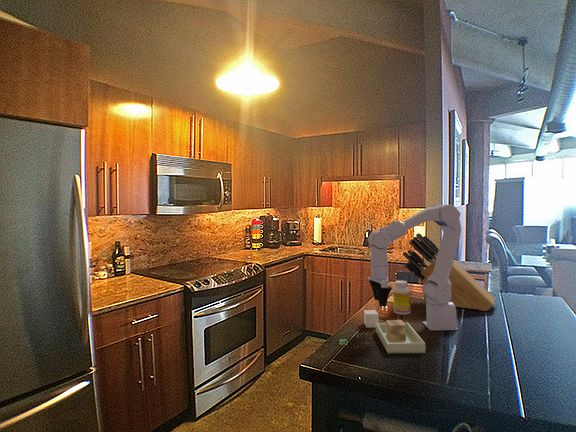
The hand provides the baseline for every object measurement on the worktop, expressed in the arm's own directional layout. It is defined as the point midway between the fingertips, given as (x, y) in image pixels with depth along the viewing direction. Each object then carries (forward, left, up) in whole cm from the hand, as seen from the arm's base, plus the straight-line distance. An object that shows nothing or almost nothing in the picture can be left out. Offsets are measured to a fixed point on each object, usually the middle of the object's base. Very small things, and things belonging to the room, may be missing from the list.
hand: (380, 302), depth 118 cm
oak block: (-3, +8, -10) cm, 13 cm away
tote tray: (-4, +9, -10) cm, 14 cm away
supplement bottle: (-13, -19, -10) cm, 25 cm away
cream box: (+2, -6, -10) cm, 12 cm away
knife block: (-35, -29, -10) cm, 47 cm away
